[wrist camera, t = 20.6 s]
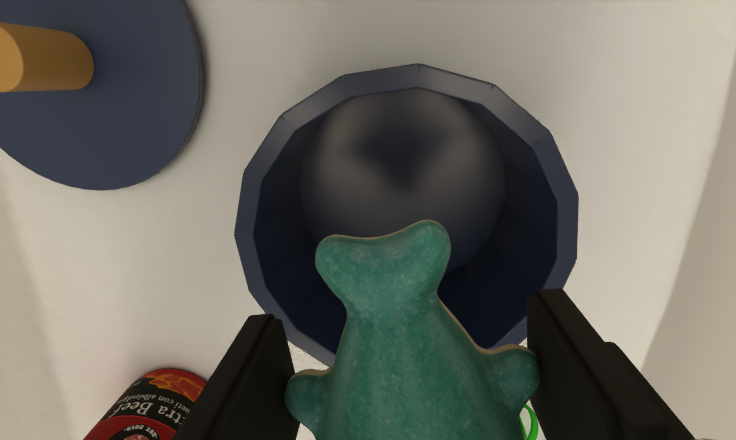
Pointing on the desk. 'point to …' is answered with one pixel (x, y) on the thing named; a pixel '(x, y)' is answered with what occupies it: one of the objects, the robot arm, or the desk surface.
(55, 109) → the tin lid
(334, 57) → the desk surface
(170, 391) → the canned food
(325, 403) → the whale figurine
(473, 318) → the tin
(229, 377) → the robot arm
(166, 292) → the desk surface
